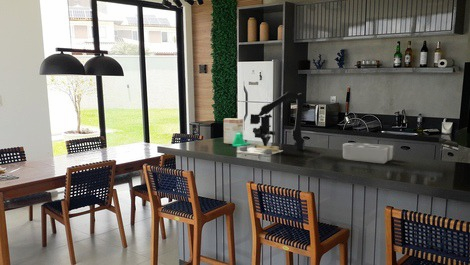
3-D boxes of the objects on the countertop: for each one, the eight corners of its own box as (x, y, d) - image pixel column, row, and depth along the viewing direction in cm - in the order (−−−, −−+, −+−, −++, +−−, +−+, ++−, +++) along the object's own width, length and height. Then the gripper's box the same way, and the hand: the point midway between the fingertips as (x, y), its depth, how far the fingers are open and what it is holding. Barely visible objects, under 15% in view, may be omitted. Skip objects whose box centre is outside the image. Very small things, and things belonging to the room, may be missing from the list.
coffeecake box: (243, 143, 315) (243, 118, 312) (237, 145, 310) (237, 119, 307) (229, 142, 325) (229, 117, 323) (223, 143, 320) (223, 118, 317)
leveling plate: (283, 152, 273) (283, 146, 272) (269, 157, 257) (269, 150, 257) (250, 149, 287) (250, 143, 287) (235, 153, 272) (235, 147, 271)
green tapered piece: (240, 148, 294) (240, 134, 293) (232, 147, 299) (232, 133, 298) (250, 146, 303) (250, 132, 302) (243, 145, 308) (242, 132, 307)
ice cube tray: (384, 164, 234) (384, 149, 233) (338, 159, 250) (338, 145, 249) (392, 159, 247) (393, 145, 246) (348, 155, 264) (348, 142, 262)
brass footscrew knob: (280, 150, 273) (280, 146, 273) (276, 151, 268) (276, 147, 268) (256, 148, 283) (256, 143, 283) (252, 149, 278) (252, 145, 278)
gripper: (261, 122, 288) (261, 144, 290) (247, 124, 273) (248, 147, 275) (275, 123, 282) (275, 145, 284) (262, 125, 267) (262, 149, 269)
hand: (265, 146), depth 278 cm, fingers closed
